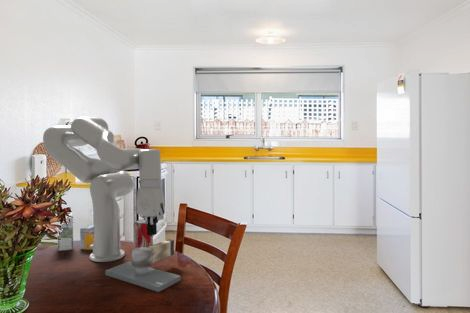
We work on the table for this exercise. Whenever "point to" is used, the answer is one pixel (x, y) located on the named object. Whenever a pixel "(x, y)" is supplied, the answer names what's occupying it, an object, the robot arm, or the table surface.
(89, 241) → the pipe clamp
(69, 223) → the syrup box
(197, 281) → the table surface
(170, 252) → the lever handle
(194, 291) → the table surface
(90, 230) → the medicine box
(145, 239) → the soda can
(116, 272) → the mount plate
